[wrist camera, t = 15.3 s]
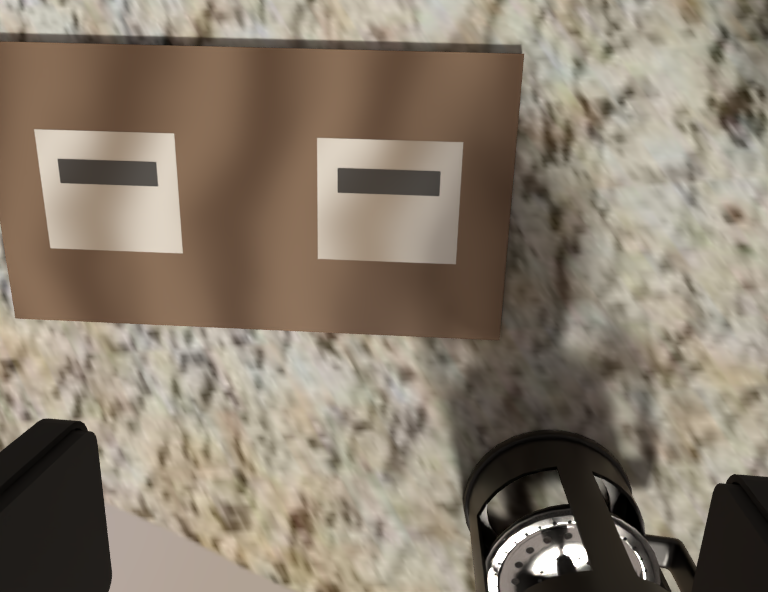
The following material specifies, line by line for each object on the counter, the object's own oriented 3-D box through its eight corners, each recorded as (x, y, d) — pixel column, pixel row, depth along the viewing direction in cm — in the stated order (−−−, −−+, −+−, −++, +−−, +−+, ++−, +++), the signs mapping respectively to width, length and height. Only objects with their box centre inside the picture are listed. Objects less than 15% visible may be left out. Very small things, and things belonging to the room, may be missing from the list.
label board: (522, 54, 30) (524, 53, 29) (498, 337, 34) (499, 340, 34) (-24, 41, 31) (-30, 40, 31) (19, 315, 35) (15, 318, 35)
